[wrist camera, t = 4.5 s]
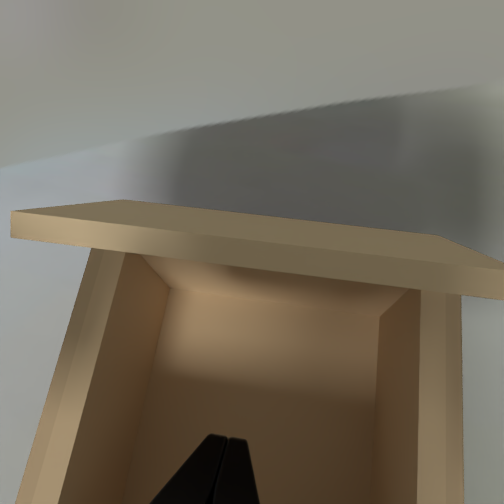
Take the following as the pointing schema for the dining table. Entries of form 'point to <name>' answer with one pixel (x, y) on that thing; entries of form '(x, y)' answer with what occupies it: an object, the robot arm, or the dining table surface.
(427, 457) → the carton
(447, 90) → the dining table surface
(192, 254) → the flap
